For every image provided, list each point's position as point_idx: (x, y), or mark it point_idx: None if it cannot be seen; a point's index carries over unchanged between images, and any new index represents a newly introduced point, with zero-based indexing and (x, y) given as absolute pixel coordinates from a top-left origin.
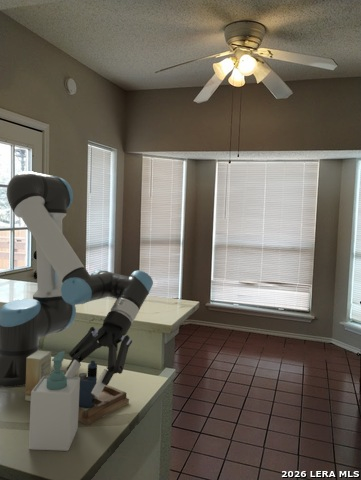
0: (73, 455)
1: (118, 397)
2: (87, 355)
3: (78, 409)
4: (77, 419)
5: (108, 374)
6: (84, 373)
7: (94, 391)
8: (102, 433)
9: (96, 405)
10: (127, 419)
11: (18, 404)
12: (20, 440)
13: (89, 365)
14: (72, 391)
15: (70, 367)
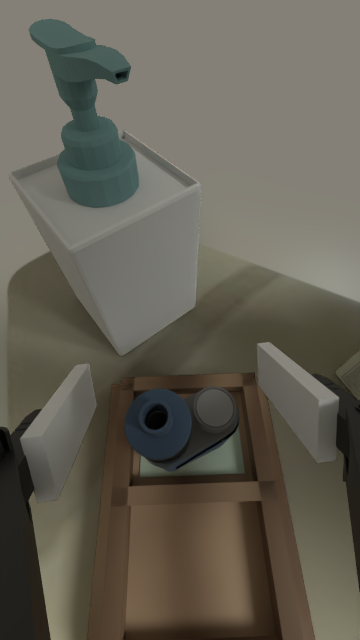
0: (57, 295)
1: (104, 591)
2: (352, 527)
3: (104, 326)
4: (107, 334)
5: (13, 442)
6: (220, 423)
7: (73, 369)
8: (51, 389)
9: (128, 443)
10: None
11: (353, 329)
12: None
13: (162, 393)
14: (15, 185)
15: (297, 371)
